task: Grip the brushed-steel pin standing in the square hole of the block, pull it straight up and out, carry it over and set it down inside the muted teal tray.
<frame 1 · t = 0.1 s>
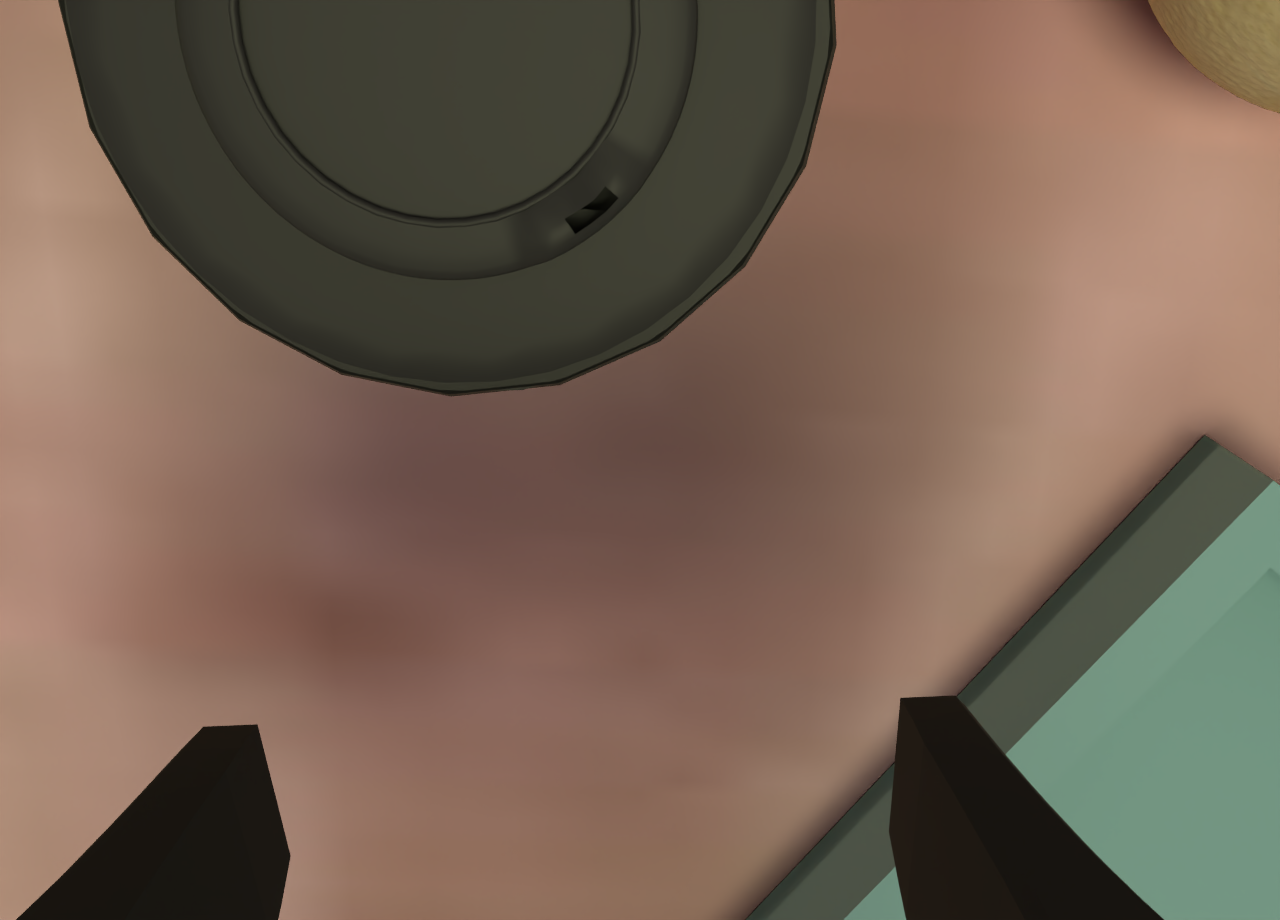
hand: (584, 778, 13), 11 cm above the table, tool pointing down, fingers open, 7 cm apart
coffee cup: (522, 35, 21), on the table
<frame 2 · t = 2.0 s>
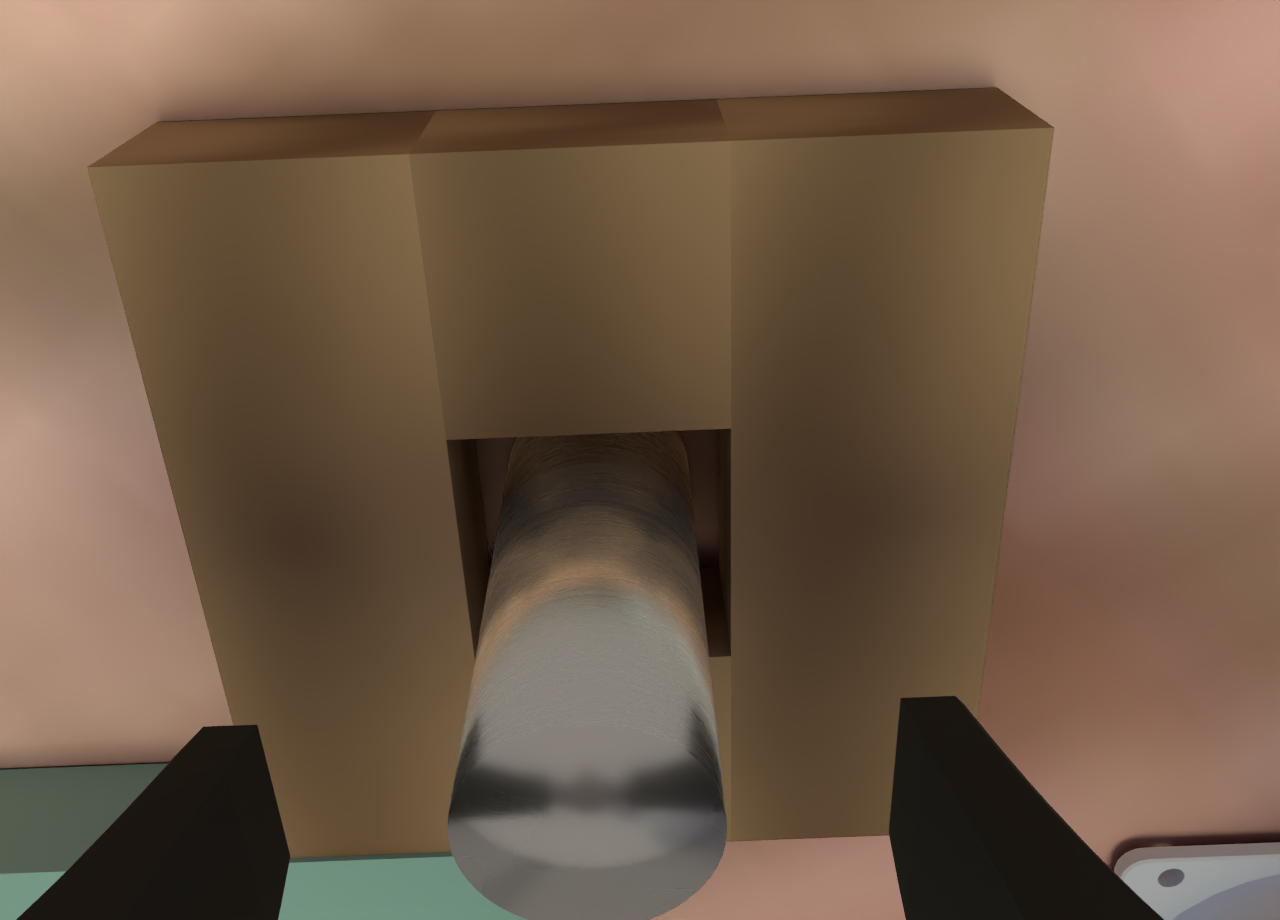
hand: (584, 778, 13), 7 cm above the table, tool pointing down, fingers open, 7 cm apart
pin: (594, 613, 16), in the pin block
pin block: (598, 472, 20), on the table
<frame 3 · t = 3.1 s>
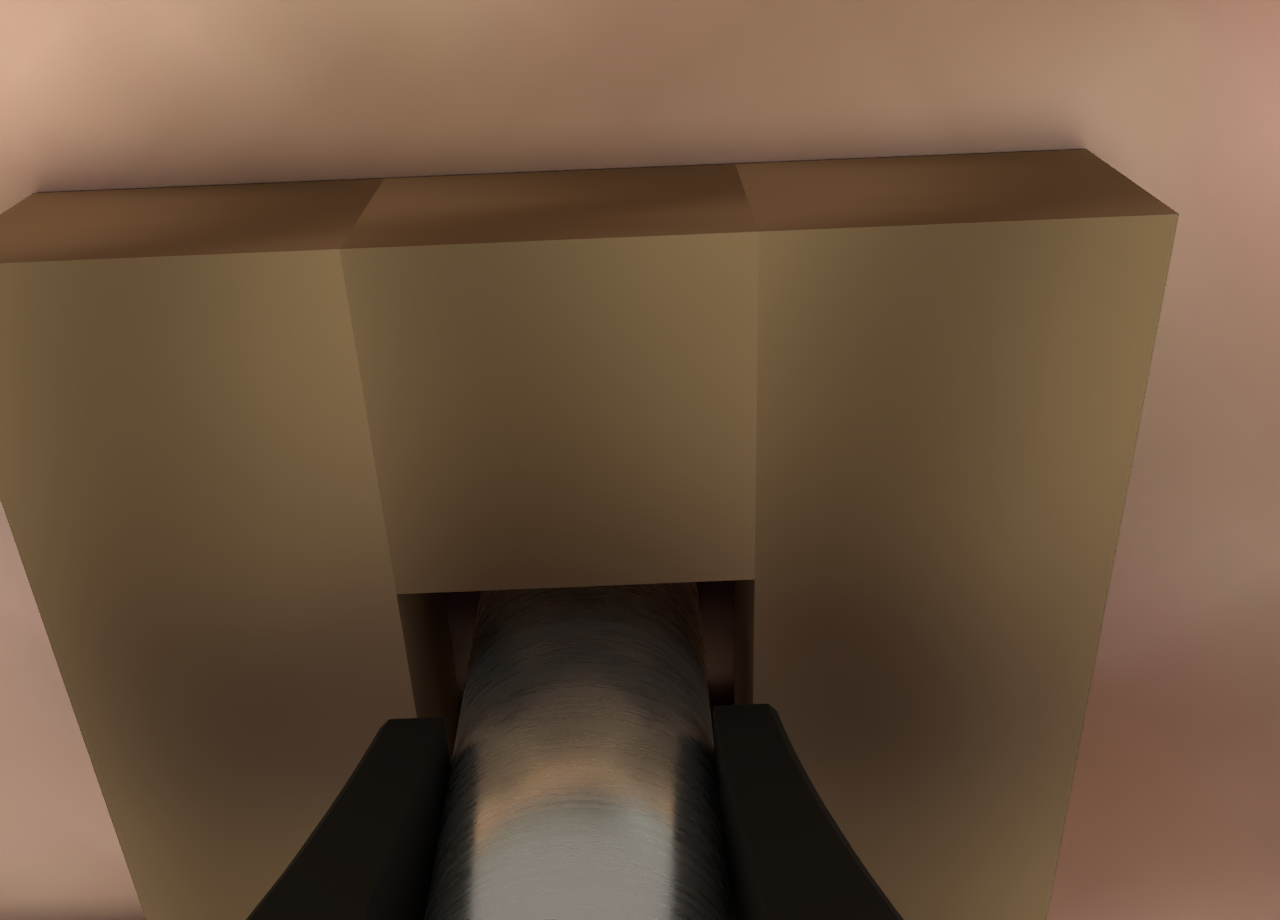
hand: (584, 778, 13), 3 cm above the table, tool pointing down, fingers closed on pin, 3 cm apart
pin: (583, 817, 13), in the pin block, touching gripper
pin block: (589, 602, 16), on the table
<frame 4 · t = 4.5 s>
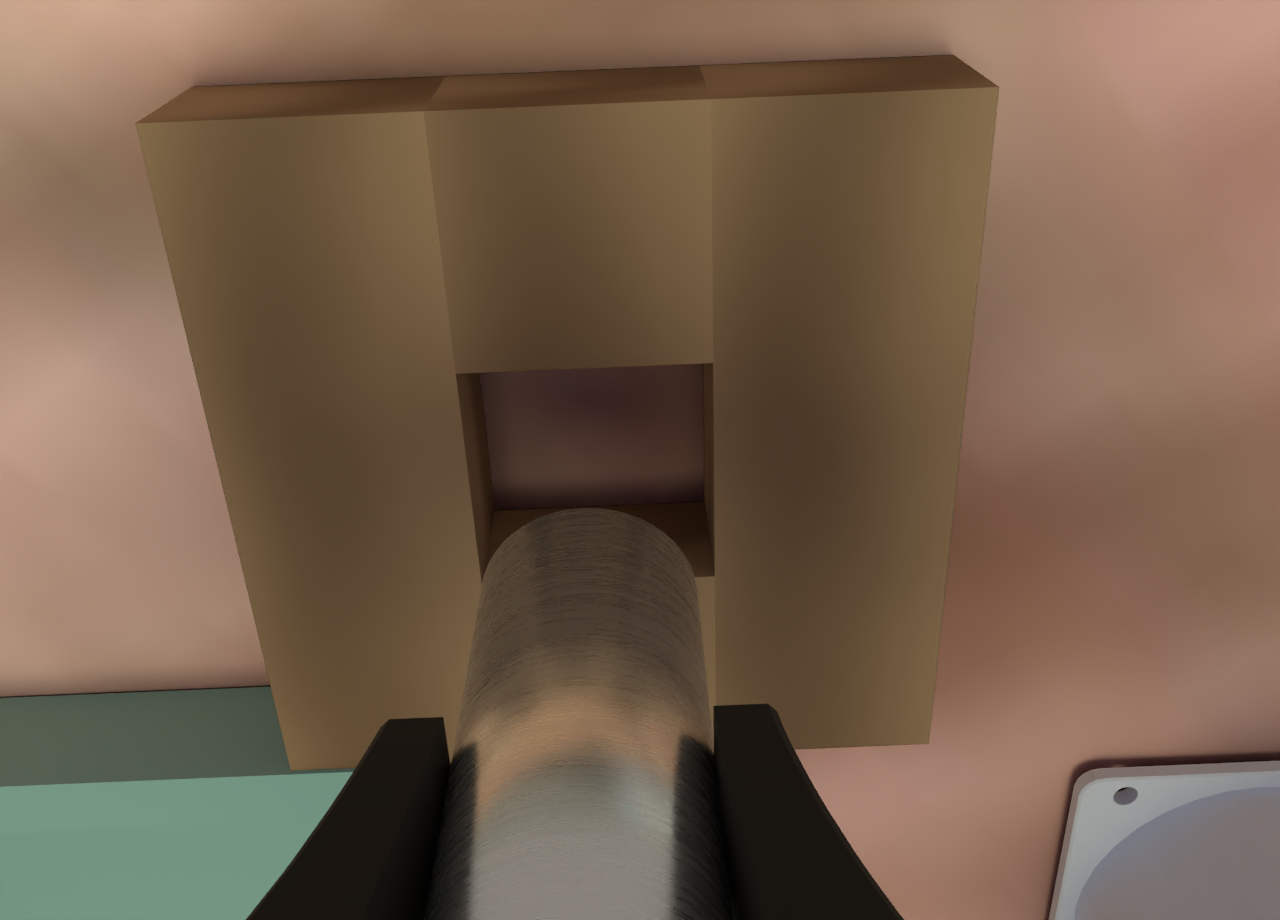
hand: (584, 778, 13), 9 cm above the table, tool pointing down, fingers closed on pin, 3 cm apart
pin: (582, 816, 13), point 10 cm above the table, touching gripper
pin block: (593, 412, 21), on the table
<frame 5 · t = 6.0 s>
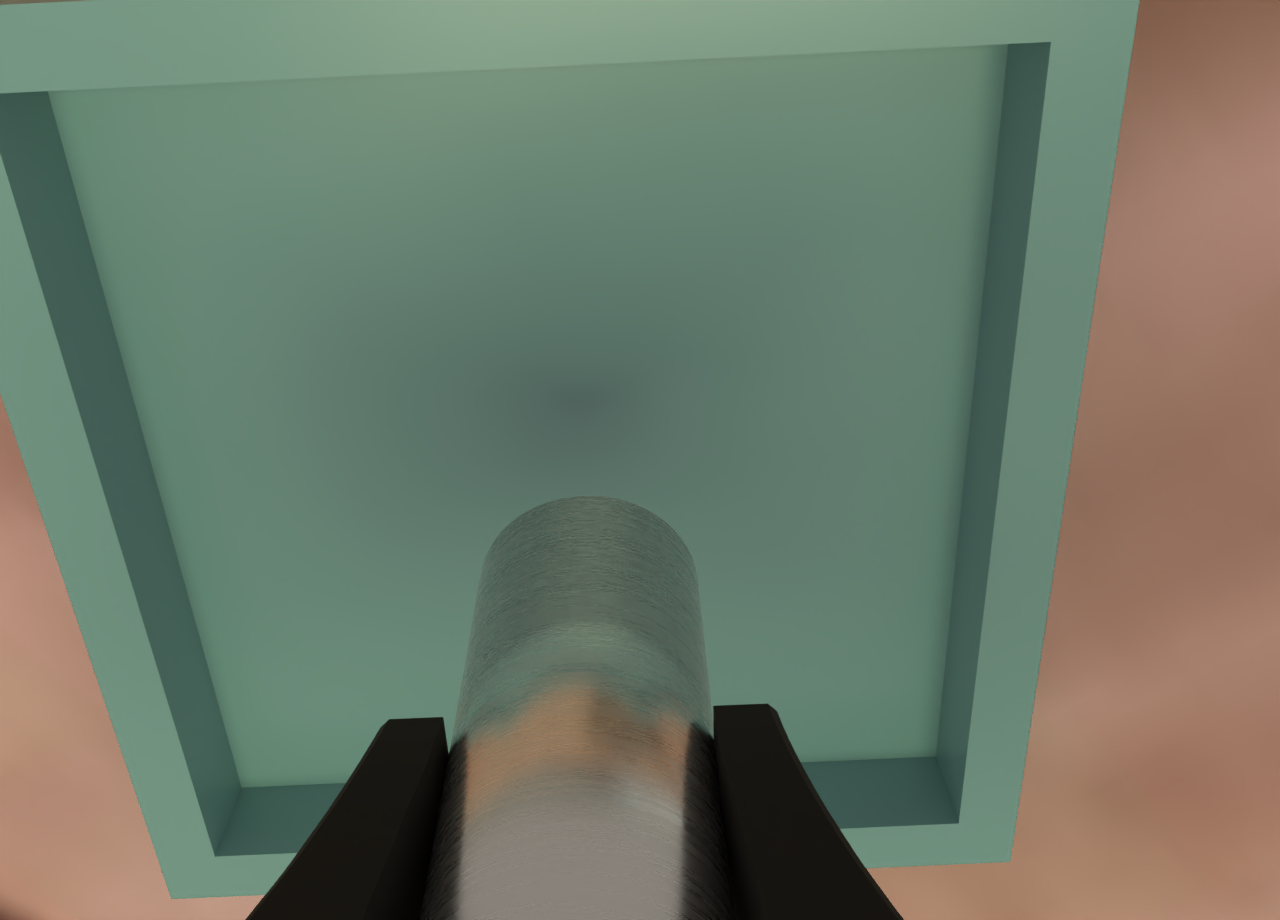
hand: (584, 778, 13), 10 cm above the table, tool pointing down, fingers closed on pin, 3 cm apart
tray: (562, 453, 23), on the table
pin: (582, 803, 13), point 11 cm above the table, touching gripper
when the fingers open (5 cm above the table, at t = 7.7 s): pin drops 1 cm, resting on tray.
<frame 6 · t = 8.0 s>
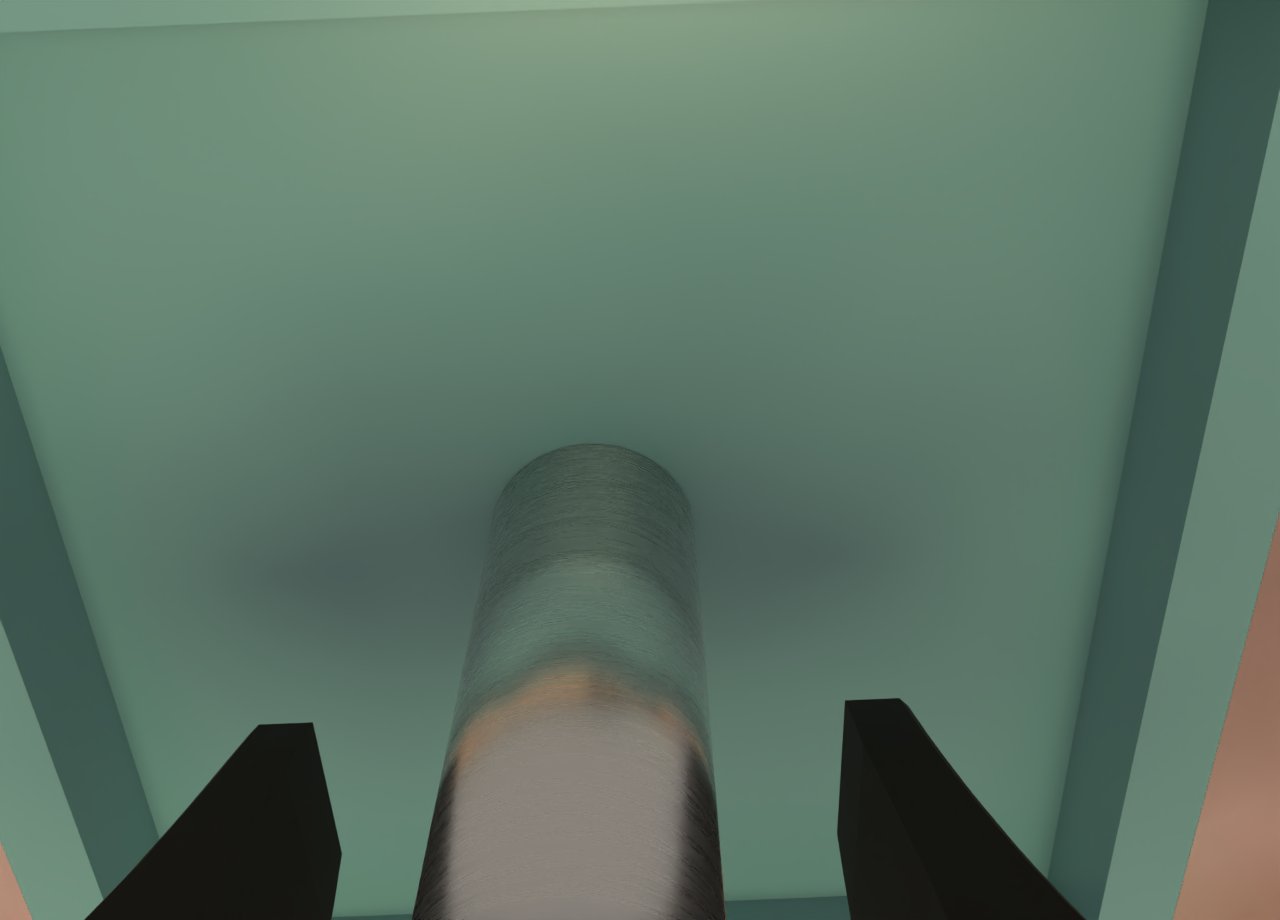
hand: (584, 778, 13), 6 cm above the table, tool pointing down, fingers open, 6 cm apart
tray: (592, 522, 18), on the table
pin: (582, 714, 14), in the tray, point 5 cm above the table
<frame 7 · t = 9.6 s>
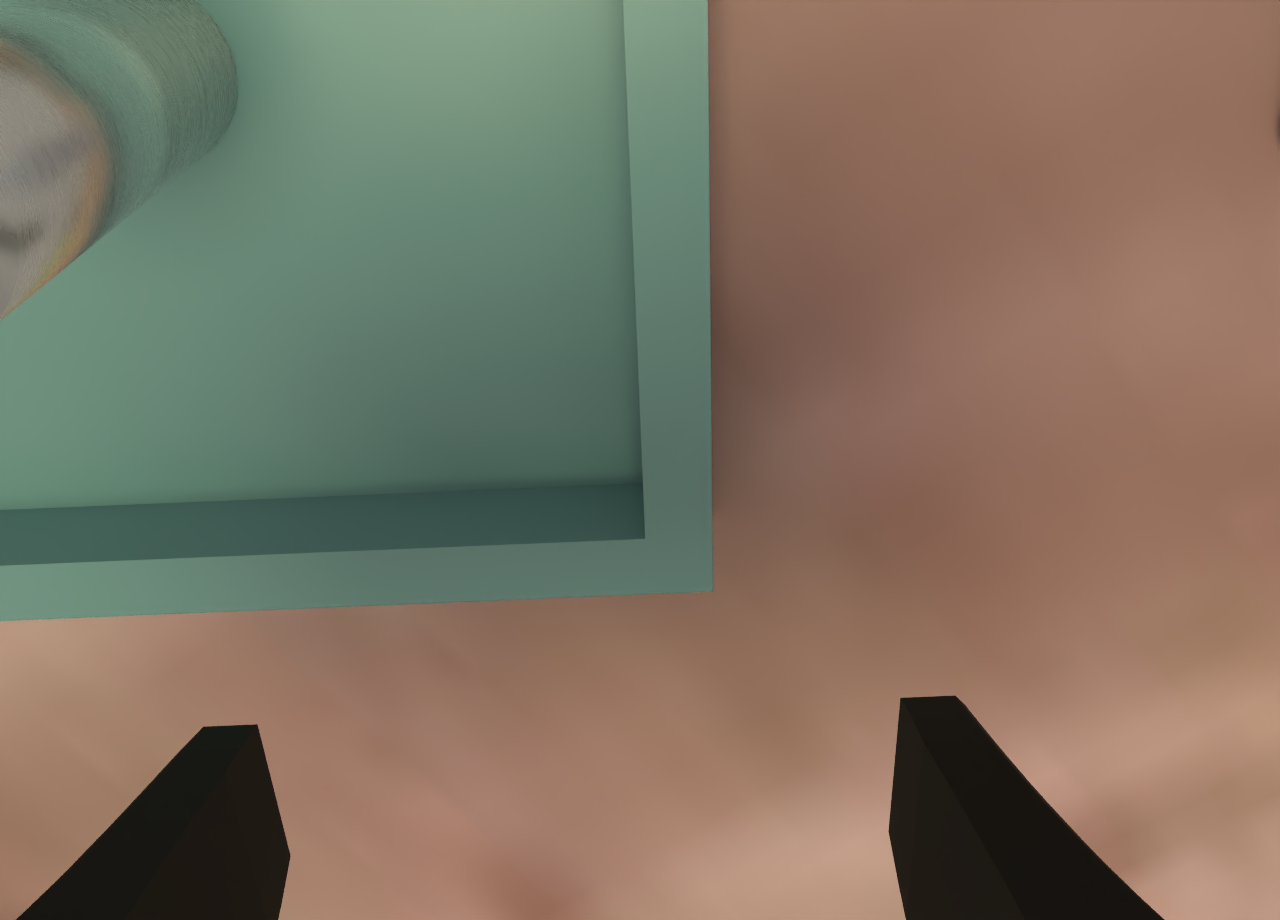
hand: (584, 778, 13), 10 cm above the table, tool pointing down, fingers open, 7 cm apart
tray: (156, 77, 20), on the table
pin: (35, 130, 15), in the tray, point 5 cm above the table
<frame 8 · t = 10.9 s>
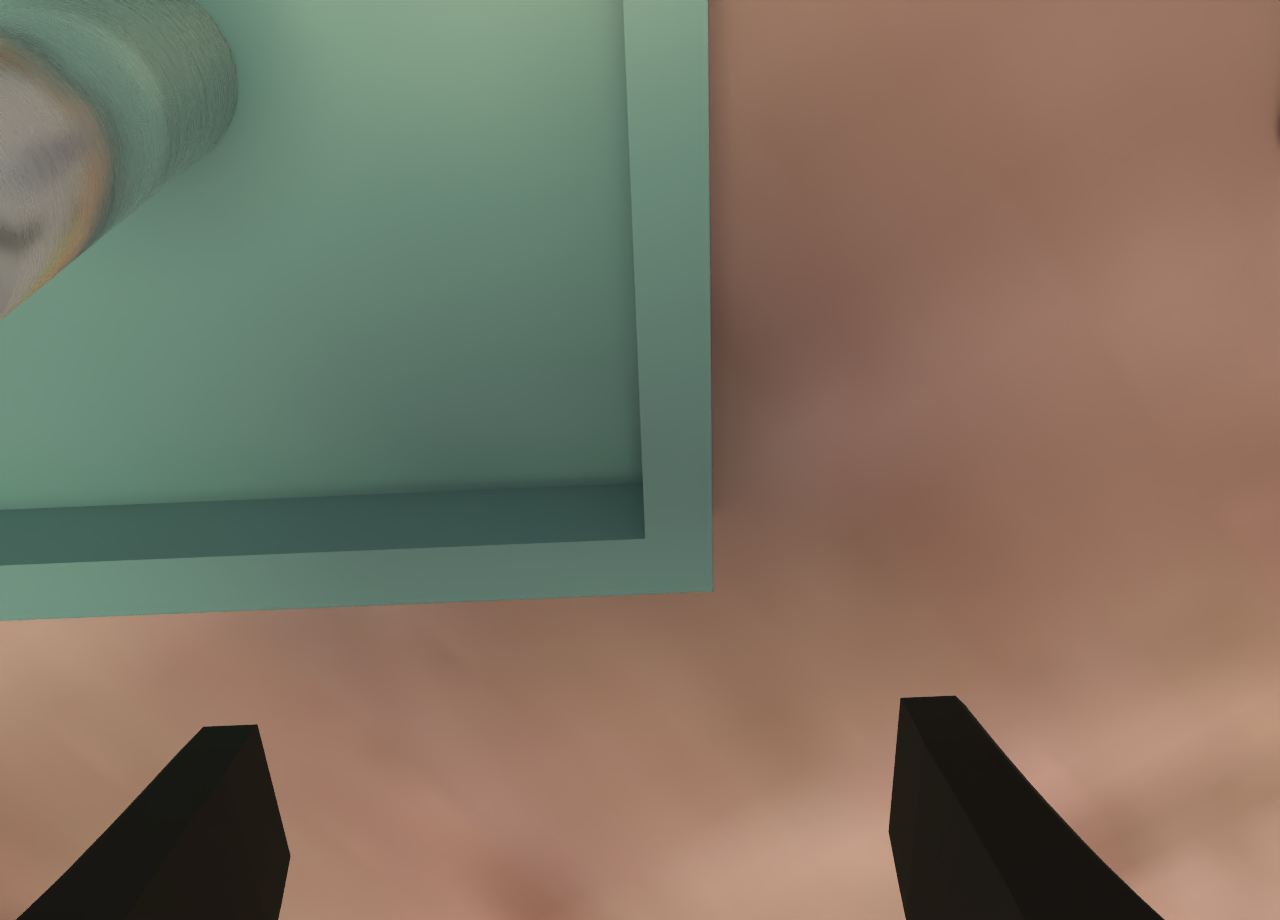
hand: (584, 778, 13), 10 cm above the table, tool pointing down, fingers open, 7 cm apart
tray: (156, 77, 20), on the table
pin: (35, 130, 15), in the tray, point 5 cm above the table
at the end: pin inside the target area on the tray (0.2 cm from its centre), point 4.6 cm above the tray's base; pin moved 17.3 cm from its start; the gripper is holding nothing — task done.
